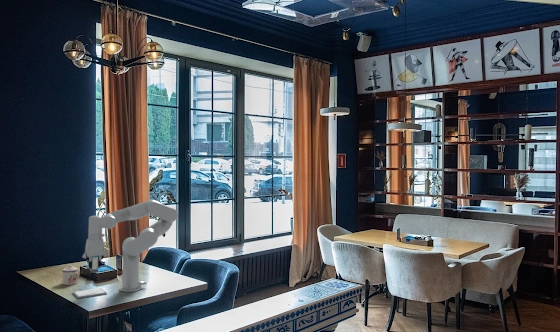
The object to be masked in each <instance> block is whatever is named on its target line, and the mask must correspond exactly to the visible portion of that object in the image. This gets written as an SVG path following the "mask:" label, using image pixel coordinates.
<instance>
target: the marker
mask: <svg viewBox="0 0 560 332" xmlns="http://www.w3.org/2000/svg"><path fill="white" fill-rule="evenodd" d="M91 262H92V269H90V273H92V274H96V273H99V268H98V256H93V257H92V259H91Z"/></svg>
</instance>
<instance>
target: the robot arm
mask: <svg viewBox="0 0 560 332" xmlns="http://www.w3.org/2000/svg"><path fill="white" fill-rule="evenodd" d="M149 215H152V216H154V217H156V218H158V220H157V221H156V222H155V223H153V224H152V225H150V226H148V227H146V228H144V229H142V230H141V231H140V232H139V235H138V236H137V237H134V236H129V237H127V238H125V239H124V240H123V242H122V282H121V283H122V286H120V287H119V291H121V292H123V293H134V292H137V291H141V290H142V286H146V285H147V281H146V280H145V281H143V280H140V277H139V275H140V254H142V253H144V252H146V251H147V250H148V249H150V248H152V247H153V246H155V245H156V243H157V242H158V239H159V238H160V237H161V236H163V235H164V234H166V233H167V232H168V231H169V230H170V229H171V227H172V225H173V223H174V222H175V221H176V220H177V219H178V217H179V212H178V211H177V210H176V209H175V208H174V207H171V206H169V205H165V204H164V203H161V202H159V201H157V200H155V199H149V200H146V201H143V202H140V203H137V204H134V205H131V206H128V207H124V208H122V209H118V210H115V211H112V212H109V213H107V214H104V215H103V216H102V215H91V216H89V217H88V235H87V237H88V238H87V239H86V242H85V247H84V248H85V249H84V253H83V254H82V256H81V257H82V258H83V259H85V260H87V262H88V268H89V269H90V270H91V269H92V262H91V259H92V257H93V256H98V269H99V268H101V265H102V260H103V259H104V258H105V257H106V256H107V255H108V253H107V251H106V250H105V241H104V237H105V236H106V235H105V234H104V233H103V229H113V228H115V227H116V225H117V224H118V223H121V222H126V221H136V220H139V219H141V218H144V217H147V216H149Z"/></svg>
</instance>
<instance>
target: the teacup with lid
mask: <svg viewBox="0 0 560 332" xmlns="http://www.w3.org/2000/svg"><path fill="white" fill-rule="evenodd" d="M61 271H62V280H61V282H62V285H63V286H73V285H76V284H77V283H78V278H79V277H80V276H81V270H79V268H78V267H75V266H73V265H72V264H68V266H66V267H64V268H62V270H61Z"/></svg>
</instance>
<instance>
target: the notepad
mask: <svg viewBox="0 0 560 332" xmlns="http://www.w3.org/2000/svg"><path fill="white" fill-rule="evenodd" d="M72 295H73V296H74V297H75V298H76V299H77V300H78V299H79V300H80V299H85V298H93V297H98V296H107V295H108V292H106V291H105V290H104V289H103V288H101V287H99V288H97V287H96V288H93V289H85V290H84V289H83V290H79V291H73V292H72Z"/></svg>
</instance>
